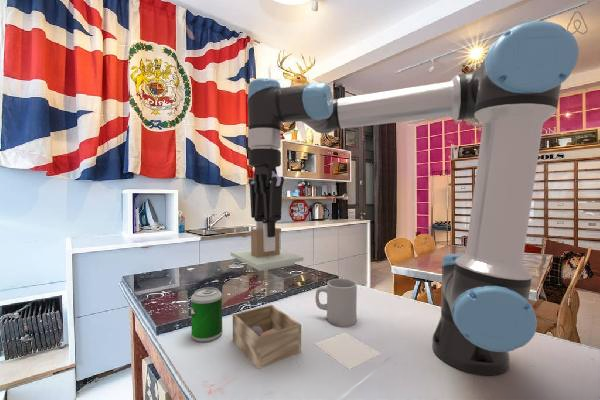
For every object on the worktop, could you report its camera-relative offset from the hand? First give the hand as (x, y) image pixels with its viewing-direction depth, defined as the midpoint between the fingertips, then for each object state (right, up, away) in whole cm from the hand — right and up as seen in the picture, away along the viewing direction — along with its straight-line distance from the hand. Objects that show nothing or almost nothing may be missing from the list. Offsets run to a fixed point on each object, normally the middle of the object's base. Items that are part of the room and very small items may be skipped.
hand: (265, 249), depth 69 cm
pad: (+19, -24, 0) cm, 31 cm away
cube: (+2, -23, -2) cm, 23 cm away
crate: (0, -24, +1) cm, 24 cm away
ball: (-3, -23, +3) cm, 23 cm away
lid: (0, -2, 0) cm, 2 cm away
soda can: (-16, -24, +6) cm, 29 cm away
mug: (+19, -23, +16) cm, 34 cm away
